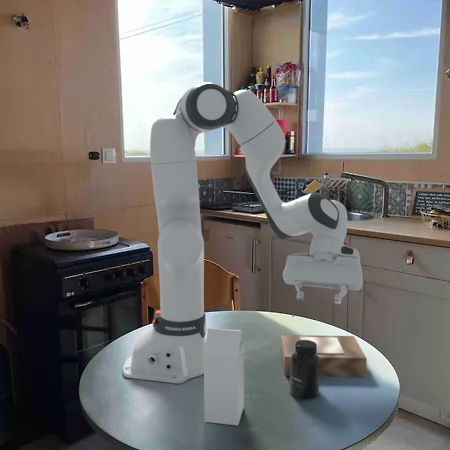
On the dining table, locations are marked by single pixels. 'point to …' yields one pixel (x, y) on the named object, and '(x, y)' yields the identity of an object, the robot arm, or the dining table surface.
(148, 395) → the dining table surface
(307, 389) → the supplement bottle
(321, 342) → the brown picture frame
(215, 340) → the milk carton
